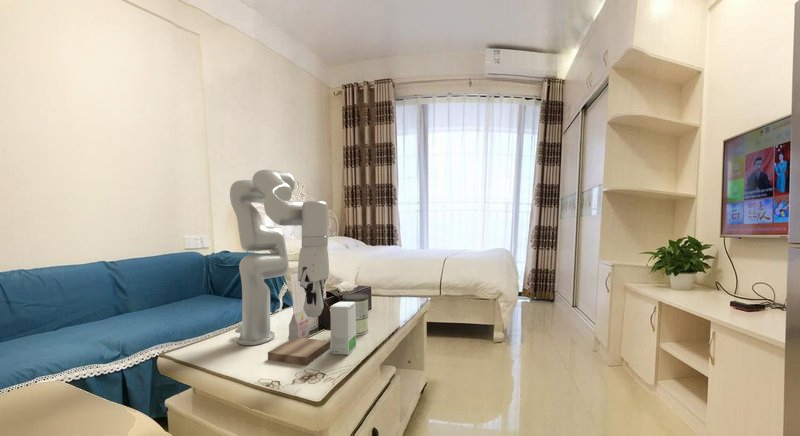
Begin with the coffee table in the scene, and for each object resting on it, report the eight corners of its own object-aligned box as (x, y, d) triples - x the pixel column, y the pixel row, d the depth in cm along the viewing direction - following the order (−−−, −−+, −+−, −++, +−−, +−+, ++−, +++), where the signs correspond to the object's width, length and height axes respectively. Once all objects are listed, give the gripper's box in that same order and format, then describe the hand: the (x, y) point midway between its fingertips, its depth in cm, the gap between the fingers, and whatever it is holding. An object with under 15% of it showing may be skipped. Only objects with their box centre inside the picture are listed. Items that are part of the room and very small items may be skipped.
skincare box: (348, 355, 101) (347, 307, 102) (329, 354, 103) (328, 306, 103) (356, 346, 109) (356, 301, 110) (339, 344, 111) (338, 300, 111)
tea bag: (288, 341, 115) (288, 313, 115) (300, 335, 121) (300, 309, 121) (297, 342, 113) (297, 314, 114) (308, 336, 120) (308, 310, 120)
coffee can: (338, 335, 120) (338, 298, 120) (347, 326, 130) (346, 292, 131) (365, 336, 119) (364, 299, 119) (371, 327, 129) (371, 293, 129)
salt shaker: (304, 318, 89) (304, 273, 89) (302, 313, 94) (302, 270, 95) (325, 316, 92) (325, 271, 92) (321, 311, 97) (322, 269, 97)
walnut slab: (267, 360, 98) (267, 352, 98) (295, 344, 112) (295, 337, 112) (306, 365, 94) (306, 357, 94) (330, 348, 108) (330, 340, 108)
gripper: (318, 240, 102) (318, 297, 102) (286, 244, 87) (286, 310, 86) (339, 241, 100) (339, 299, 100) (309, 244, 84) (309, 313, 84)
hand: (314, 303), depth 93 cm, fingers closed on salt shaker, 3 cm apart
